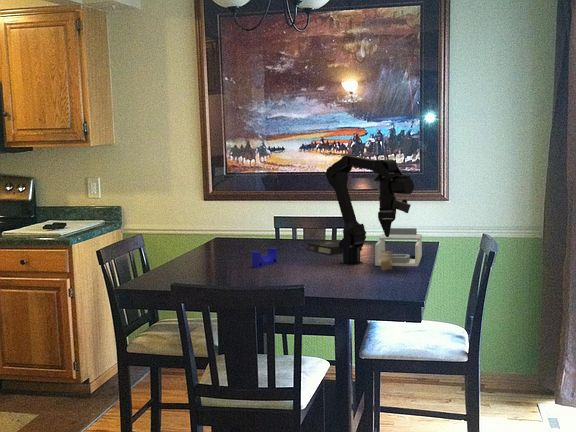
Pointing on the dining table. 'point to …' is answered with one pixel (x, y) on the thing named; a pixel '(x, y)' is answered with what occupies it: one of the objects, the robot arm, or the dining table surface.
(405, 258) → the housing
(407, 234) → the lid
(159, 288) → the dining table surface
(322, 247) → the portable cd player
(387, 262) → the jaw peg
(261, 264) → the cable clip
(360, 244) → the robot arm
